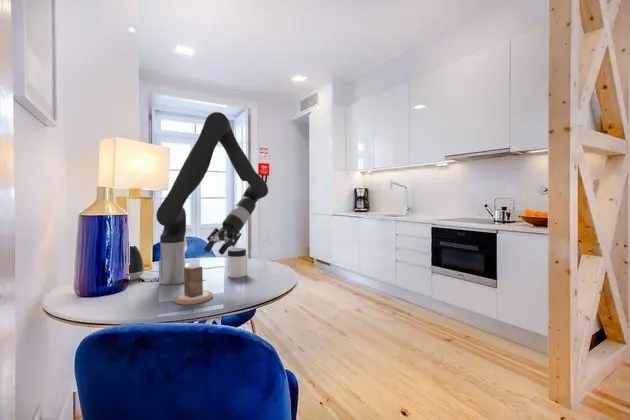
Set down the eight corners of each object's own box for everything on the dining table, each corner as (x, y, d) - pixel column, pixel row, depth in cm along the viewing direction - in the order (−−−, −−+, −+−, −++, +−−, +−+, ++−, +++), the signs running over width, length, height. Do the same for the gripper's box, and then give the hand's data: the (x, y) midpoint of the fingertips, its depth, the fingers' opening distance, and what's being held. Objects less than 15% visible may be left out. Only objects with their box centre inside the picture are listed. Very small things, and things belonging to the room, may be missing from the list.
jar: (225, 274, 146) (224, 249, 146) (241, 272, 151) (241, 247, 151) (232, 279, 139) (231, 251, 139) (249, 276, 144) (249, 249, 143)
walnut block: (184, 295, 113) (183, 267, 112) (195, 292, 116) (194, 265, 116) (191, 297, 110) (191, 269, 110) (202, 294, 114) (202, 266, 113)
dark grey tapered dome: (112, 279, 139) (111, 245, 138) (137, 274, 147) (136, 242, 147) (124, 283, 133) (122, 247, 132) (148, 278, 142) (147, 244, 141)
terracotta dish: (165, 303, 108) (165, 300, 108) (187, 292, 121) (187, 288, 121) (200, 305, 106) (200, 302, 106) (219, 293, 118) (219, 290, 118)
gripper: (219, 212, 130) (195, 244, 121) (243, 214, 122) (219, 247, 113) (230, 224, 135) (207, 256, 126) (253, 226, 126) (231, 260, 118)
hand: (213, 252), depth 119 cm, fingers open, 8 cm apart
